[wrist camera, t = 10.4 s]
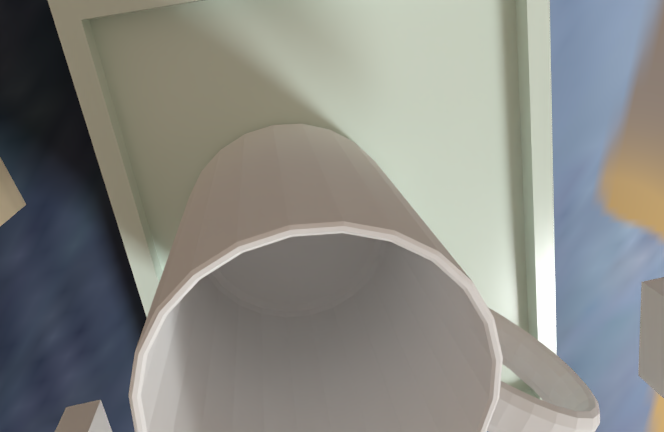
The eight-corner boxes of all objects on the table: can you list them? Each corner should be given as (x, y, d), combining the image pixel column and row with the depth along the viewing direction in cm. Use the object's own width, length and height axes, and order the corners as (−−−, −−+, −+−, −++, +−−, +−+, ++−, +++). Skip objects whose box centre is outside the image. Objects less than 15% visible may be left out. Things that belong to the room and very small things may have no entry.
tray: (203, 465, 26) (200, 491, 24) (62, -2, 19) (46, -4, 17) (541, 391, 27) (557, 412, 25) (527, -78, 20) (547, -85, 18)
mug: (161, 285, 22) (86, 506, 12) (223, 89, 20) (193, 166, 10) (439, 360, 25) (562, 588, 15) (520, 196, 23) (725, 337, 13)
